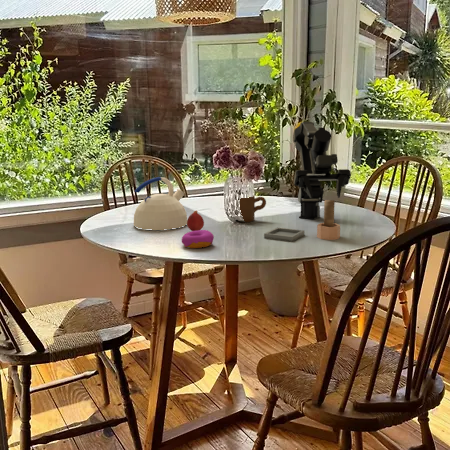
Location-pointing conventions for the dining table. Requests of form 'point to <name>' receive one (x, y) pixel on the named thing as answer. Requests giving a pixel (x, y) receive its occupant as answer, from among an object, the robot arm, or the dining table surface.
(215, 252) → the dining table surface
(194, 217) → the onion
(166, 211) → the kettle
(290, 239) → the grey tray
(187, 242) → the donut
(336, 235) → the terracotta cup
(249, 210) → the mug
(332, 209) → the walnut dowel
